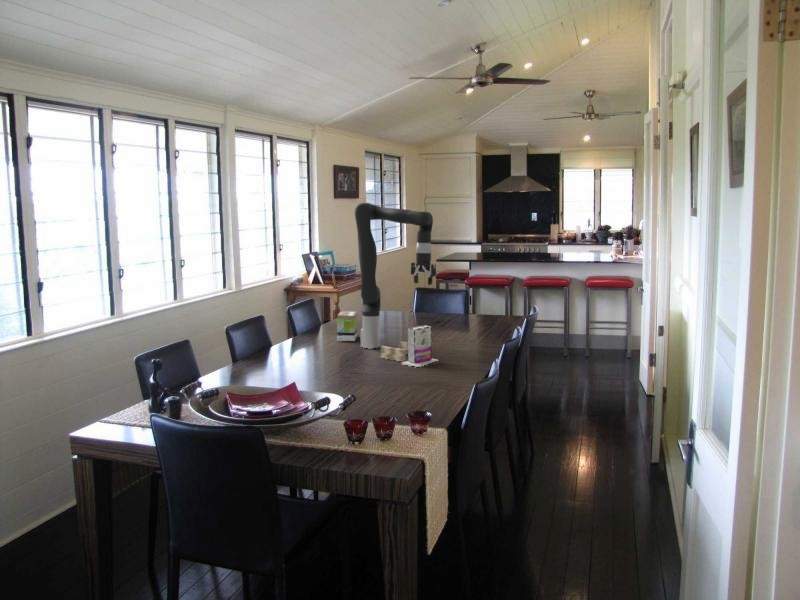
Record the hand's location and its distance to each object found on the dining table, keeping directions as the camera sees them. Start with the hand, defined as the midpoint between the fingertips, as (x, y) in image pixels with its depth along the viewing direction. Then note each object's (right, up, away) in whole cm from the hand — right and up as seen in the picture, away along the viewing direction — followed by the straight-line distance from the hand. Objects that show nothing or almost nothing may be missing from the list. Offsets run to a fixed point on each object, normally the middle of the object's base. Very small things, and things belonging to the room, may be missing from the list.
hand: (423, 284), depth 343 cm
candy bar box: (-2, -37, -20) cm, 42 cm away
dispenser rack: (-11, -36, -8) cm, 39 cm away
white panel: (-2, -38, -20) cm, 43 cm away
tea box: (-41, -30, +37) cm, 63 cm away
